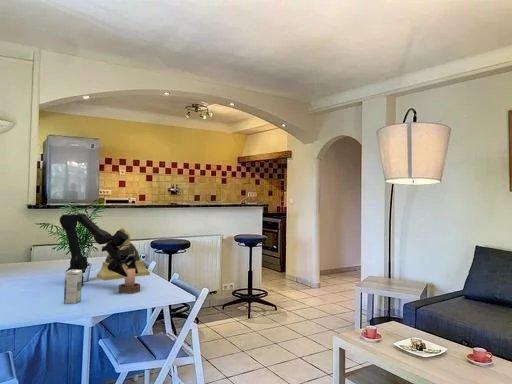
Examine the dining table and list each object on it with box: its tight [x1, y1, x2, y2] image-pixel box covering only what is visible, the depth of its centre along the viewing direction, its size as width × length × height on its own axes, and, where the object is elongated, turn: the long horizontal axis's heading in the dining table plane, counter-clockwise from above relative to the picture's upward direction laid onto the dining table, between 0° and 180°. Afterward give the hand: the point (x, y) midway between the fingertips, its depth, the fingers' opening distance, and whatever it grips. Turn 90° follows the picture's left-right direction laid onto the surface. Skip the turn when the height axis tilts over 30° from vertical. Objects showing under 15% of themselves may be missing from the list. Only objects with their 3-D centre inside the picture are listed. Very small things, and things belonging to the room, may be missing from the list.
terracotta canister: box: [124, 268, 136, 287], centre depth 199 cm, size 5×5×11 cm
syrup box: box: [63, 270, 83, 305], centre depth 177 cm, size 6×6×14 cm
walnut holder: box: [118, 282, 141, 295], centre depth 198 cm, size 10×10×3 cm
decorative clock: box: [96, 227, 151, 282], centre depth 235 cm, size 28×13×30 cm, turn 130°
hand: (132, 274), depth 198 cm, fingers open, 9 cm apart
